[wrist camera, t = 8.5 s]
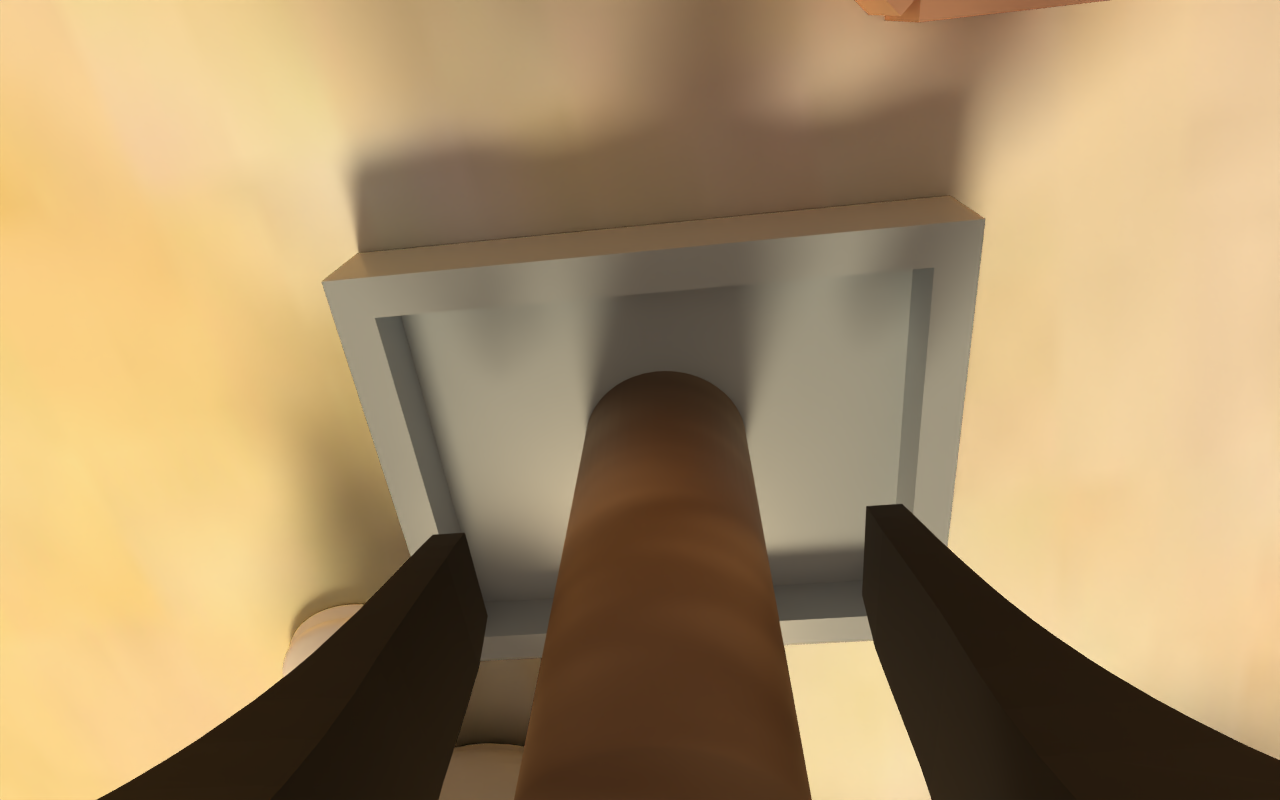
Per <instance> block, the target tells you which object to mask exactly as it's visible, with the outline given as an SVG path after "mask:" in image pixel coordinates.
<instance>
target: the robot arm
mask: <svg viewBox="0 0 1280 800" xmlns="http://www.w3.org/2000/svg"><path fill="white" fill-rule="evenodd" d="M862 597H863V601H864V605H865V609H866V614H867V618H868V622H869V626H870V630H871V634H872V638H873V641H874V645H875V649H876V651H877V654H878V657H879V659H880V662H881V665H882V667H883V670H884V673H885V675H886V678H887V681H888V683H889V686H890V688H891V691H892V694H893V696H894V699H895V701H896V704H897V707H898V709H899V712H900V714H901V717H902V720H903V722H904V725H905V727H906V730H907V732H908V735H909V738H910V740H911V743H912V745H913V748H914V751H915V753H916V756H917V758H918V761H919V764H920V766H921V769H922V772H923V775H924V778H925V781H926V784H927V787H928V790H929V793H930V796H931V800H1280V760H1278V759H1276V758H1273V757H1271V756H1269V755H1266V754H1264V753H1262V752H1260V751H1257V750H1255V749H1253V748H1251V747H1248V746H1246V745H1244V744H1242V743H1240V742H1238V741H1236V740H1234V739H1232V738H1230V737H1228V736H1226V735H1224V734H1222V733H1220V732H1218V731H1216V730H1214V729H1212V728H1210V727H1208V726H1206V725H1204V724H1202V723H1200V722H1198V721H1196V720H1194V719H1192V718H1190V717H1188V716H1186V715H1184V714H1182V713H1181V712H1179V711H1177V710H1175V709H1173V708H1171V707H1169V706H1168V705H1166V704H1164V703H1162V702H1160V701H1158V700H1156V699H1155V698H1153V697H1151V696H1149V695H1148V694H1146V693H1144V692H1143V691H1141V690H1139V689H1138V688H1136V687H1134V686H1132V685H1131V684H1129V683H1127V682H1126V681H1124V680H1122V679H1120V678H1119V677H1117V676H1115V675H1114V674H1112V673H1110V672H1109V671H1107V670H1106V669H1104V668H1102V667H1101V666H1099V665H1098V664H1096V663H1094V662H1093V661H1091V660H1090V659H1088V658H1087V657H1085V656H1084V655H1082V654H1081V653H1079V652H1078V651H1076V650H1075V649H1073V648H1072V647H1070V646H1069V645H1067V644H1066V643H1065V642H1063V641H1062V640H1060V639H1059V638H1057V637H1056V636H1054V635H1053V634H1051V633H1050V632H1048V631H1047V630H1046V629H1044V628H1043V627H1042V626H1040V625H1039V624H1037V623H1036V622H1035V621H1033V620H1032V619H1031V618H1030V617H1028V616H1027V615H1026V614H1024V613H1023V612H1022V611H1021V610H1019V609H1018V608H1017V607H1016V606H1014V605H1013V604H1012V603H1010V602H1009V601H1008V600H1007V599H1005V598H1004V597H1003V596H1002V595H1001V594H999V593H998V592H997V591H996V590H995V589H993V588H992V587H991V586H990V585H989V584H988V583H987V582H985V581H984V580H983V579H982V578H981V577H980V576H979V575H977V574H976V573H975V572H974V571H973V570H972V569H971V568H970V567H968V566H967V565H966V564H965V563H964V562H963V561H962V560H961V559H960V558H958V557H957V556H956V555H955V554H954V553H953V552H952V551H951V550H950V549H949V548H948V547H947V546H946V545H945V544H944V543H942V542H941V541H940V540H939V539H938V538H937V537H936V536H935V535H934V534H933V533H932V532H931V531H930V530H929V529H928V528H927V527H926V526H925V525H924V524H923V523H922V522H921V521H920V520H919V519H918V518H917V517H916V516H915V515H914V514H913V513H912V512H910V511H909V510H908V509H907V508H906V507H905V506H904V505H903V504H890V505H875V506H866V521H865V542H864V563H863V584H862ZM487 617H488V615H487V611H486V608H485V604H484V600H483V597H482V593H481V589H480V586H479V582H478V578H477V575H476V571H475V568H474V564H473V560H472V557H471V553H470V549H469V546H468V542H467V538H466V535H465V533H450V534H435V535H432V536H431V537H430V538H429V539H428V540H427V541H426V542H425V543H424V544H423V545H422V546H421V547H420V548H419V549H418V550H417V551H416V552H415V553H414V554H413V555H412V556H411V557H410V558H409V559H408V560H407V561H406V562H405V563H404V564H403V565H402V566H401V568H400V569H399V570H398V571H397V572H396V573H395V574H394V575H393V576H392V577H391V578H390V579H389V580H388V581H387V582H386V583H385V584H384V585H383V586H382V587H381V588H380V589H379V590H378V591H377V592H376V593H375V594H374V595H373V596H372V597H371V598H370V599H369V600H368V601H367V602H366V603H365V604H364V605H363V606H362V607H361V608H360V609H359V610H358V611H357V612H356V613H355V614H354V615H353V616H352V617H351V618H350V619H349V620H348V621H347V622H346V623H345V624H344V625H342V626H341V627H340V628H339V629H338V630H337V631H336V632H335V633H334V634H333V635H332V636H331V637H330V638H328V639H327V640H326V641H325V642H324V643H323V644H322V645H321V646H320V647H319V648H318V649H317V650H316V651H314V652H313V653H312V654H311V655H310V656H309V657H308V658H306V659H305V660H304V661H303V662H302V663H300V664H299V665H298V666H297V667H296V668H294V669H293V670H292V671H291V672H290V673H288V674H287V675H286V676H285V677H283V678H282V679H281V680H280V681H278V682H277V683H276V684H275V685H273V686H272V687H271V688H269V689H268V690H267V691H266V692H264V693H263V694H262V695H260V696H259V697H258V698H257V699H255V700H254V701H253V702H251V703H250V704H248V705H247V706H245V707H244V708H243V709H241V710H240V711H238V712H237V713H235V714H234V715H233V716H231V717H230V718H228V719H227V720H225V721H224V722H223V723H221V724H220V725H218V726H217V727H215V728H214V729H213V730H211V731H210V732H208V733H207V734H205V735H204V736H203V737H201V738H200V739H198V740H197V741H195V742H193V743H192V744H190V745H189V746H187V747H186V748H184V749H182V750H181V751H179V752H178V753H176V754H175V755H173V756H171V757H170V758H168V759H167V760H165V761H163V762H162V763H160V764H158V765H157V766H155V767H153V768H152V769H150V770H148V771H147V772H145V773H143V774H142V775H140V776H138V777H137V778H135V779H133V780H131V781H130V782H128V783H126V784H124V785H123V786H121V787H119V788H117V789H116V790H114V791H112V792H110V793H108V794H106V795H105V796H103V797H101V798H99V799H97V800H439V797H440V793H441V789H442V786H443V782H444V779H445V776H446V773H447V770H448V766H449V763H450V760H451V757H452V754H453V750H454V747H455V744H456V741H457V738H458V734H459V731H460V728H461V725H462V722H463V718H464V715H465V712H466V709H467V706H468V702H469V699H470V696H471V692H472V689H473V686H474V683H475V679H476V676H477V672H478V669H479V664H480V659H481V654H482V648H483V643H484V636H485V630H486V624H487Z"/></svg>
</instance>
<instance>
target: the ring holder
mask: <svg viewBox="0 0 1280 800" xmlns="http://www.w3.org/2000/svg"><path fill="white" fill-rule="evenodd" d="M855 1H856V2H857V3H858V4H859V5H860V6H861V7H862V9H863V10H864V11H865V12H866V13H867V14H868V15H885V20H887V21H905V22H926V21H935V20H944V19H952V18H961V17H969V16H978V15H987V14H995V13H1004V12H1013V11H1021V10H1030V9H1039V8H1047V7H1056V6H1065V5H1073V4H1082V3H1091V2H1099V1H1108V0H855Z"/></svg>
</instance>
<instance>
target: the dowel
mask: <svg viewBox="0 0 1280 800" xmlns="http://www.w3.org/2000/svg"><path fill="white" fill-rule="evenodd" d="M514 800H812V799H811V793H810V788H809V782H808V777H807V771H806V765H805V760H804V754H803V749H802V743H801V738H800V732H799V727H798V721H797V715H796V710H795V704H794V699H793V693H792V688H791V682H790V677H789V671H788V665H787V660H786V654H785V649H784V643H783V638H782V632H781V627H780V621H779V615H778V610H777V604H776V599H775V593H774V588H773V582H772V577H771V571H770V565H769V560H768V554H767V549H766V543H765V538H764V532H763V526H762V521H761V515H760V510H759V504H758V499H757V493H756V488H755V482H754V476H753V471H752V465H751V460H750V454H749V449H748V443H747V438H746V432H745V426H744V423H743V420H742V417H741V415H740V413H739V411H738V409H737V407H736V406H735V405H734V403H733V402H732V400H731V399H730V398H729V397H728V396H727V395H726V394H725V393H724V392H723V391H721V390H720V389H719V388H718V387H716V386H715V385H713V384H712V383H710V382H708V381H706V380H704V379H702V378H700V377H697V376H694V375H691V374H687V373H682V372H675V371H656V372H649V373H644V374H641V375H637V376H634V377H632V378H629V379H627V380H625V381H623V382H621V383H620V384H618V385H616V386H615V387H614V388H612V389H611V390H610V391H609V392H607V393H606V394H605V395H604V396H603V397H602V399H601V400H600V401H599V402H598V404H597V405H596V407H595V408H594V410H593V412H592V414H591V416H590V419H589V422H588V425H587V430H586V435H585V440H584V445H583V450H582V455H581V460H580V466H579V471H578V476H577V481H576V486H575V491H574V496H573V501H572V506H571V511H570V517H569V522H568V527H567V532H566V537H565V542H564V547H563V552H562V557H561V562H560V567H559V573H558V578H557V583H556V588H555V593H554V598H553V603H552V608H551V613H550V618H549V624H548V629H547V634H546V639H545V644H544V649H543V654H542V659H541V664H540V669H539V674H538V680H537V685H536V690H535V695H534V700H533V705H532V710H531V715H530V720H529V725H528V731H527V736H526V741H525V746H524V751H523V756H522V761H521V766H520V771H519V776H518V781H517V787H516V792H515V797H514Z"/></svg>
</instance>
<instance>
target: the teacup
mask: <svg viewBox="0 0 1280 800" xmlns="http://www.w3.org/2000/svg"><path fill="white" fill-rule="evenodd" d="M523 751H524V746H518V745H512V744H488V743H482V744H473V745H466V746H461V747H456V748H454V750H453V754H452V757H451V760H450V763H449V766H448V770H447V773H446V776H445V779H444V782H443V786H442V789H441V793H440V797H439V800H514V797H515V792H516V787H517V781H518V776H519V771H520V766H521V761H522V756H523Z"/></svg>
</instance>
